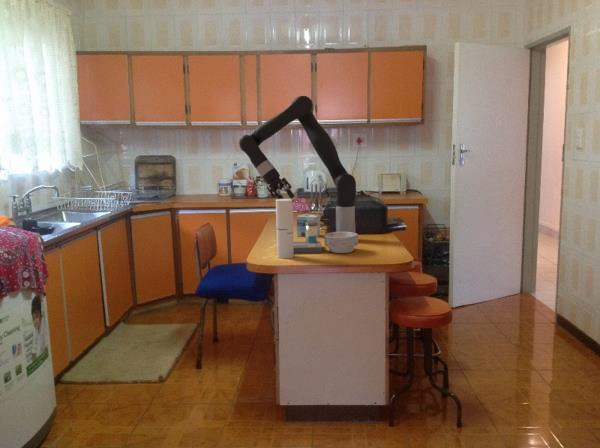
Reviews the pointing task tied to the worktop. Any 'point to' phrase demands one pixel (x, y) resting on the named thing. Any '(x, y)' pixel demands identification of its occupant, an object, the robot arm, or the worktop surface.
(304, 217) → the light bulb box
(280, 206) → the cylindrical container
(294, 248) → the display shelf
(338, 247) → the paper bowls
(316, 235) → the tea tin
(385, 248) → the worktop surface
